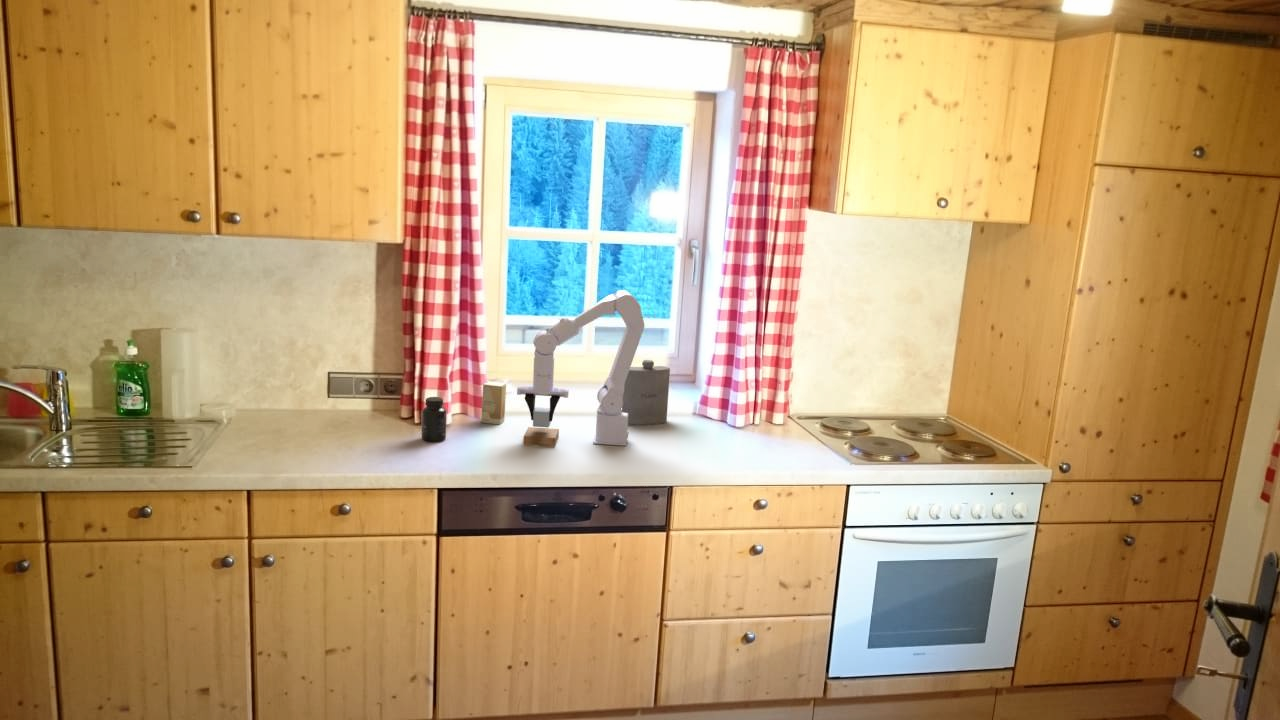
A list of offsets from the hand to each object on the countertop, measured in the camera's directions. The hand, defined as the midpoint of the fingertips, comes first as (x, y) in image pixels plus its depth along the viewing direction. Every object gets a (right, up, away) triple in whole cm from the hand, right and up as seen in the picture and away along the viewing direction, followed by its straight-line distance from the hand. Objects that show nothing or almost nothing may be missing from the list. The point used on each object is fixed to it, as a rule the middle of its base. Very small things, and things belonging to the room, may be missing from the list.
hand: (541, 419), depth 269 cm
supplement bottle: (-31, -6, -3) cm, 31 cm away
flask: (+30, -3, +26) cm, 39 cm away
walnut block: (0, -7, +1) cm, 7 cm away
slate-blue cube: (0, -1, +1) cm, 2 cm away
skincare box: (-17, -2, +17) cm, 24 cm away
